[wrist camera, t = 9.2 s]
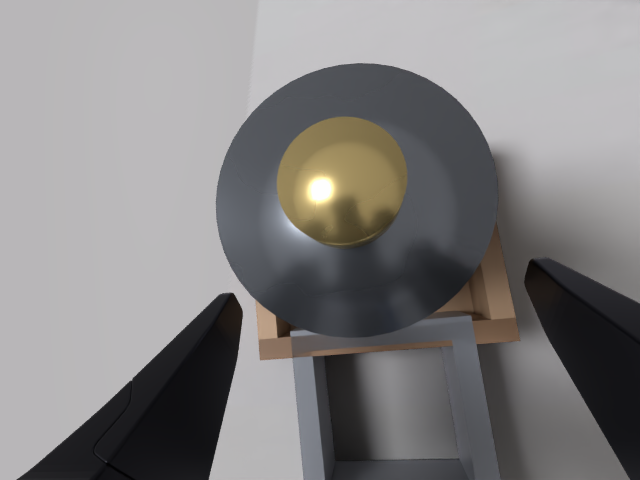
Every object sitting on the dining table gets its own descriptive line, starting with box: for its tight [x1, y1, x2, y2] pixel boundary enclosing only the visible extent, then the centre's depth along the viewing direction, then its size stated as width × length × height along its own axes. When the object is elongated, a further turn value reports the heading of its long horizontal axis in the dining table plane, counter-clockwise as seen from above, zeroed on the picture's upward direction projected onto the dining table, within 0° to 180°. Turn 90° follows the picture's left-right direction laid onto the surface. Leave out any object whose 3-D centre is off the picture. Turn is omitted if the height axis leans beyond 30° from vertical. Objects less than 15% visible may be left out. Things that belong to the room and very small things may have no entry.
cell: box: [216, 63, 498, 338], centre depth 11 cm, size 5×5×13 cm
